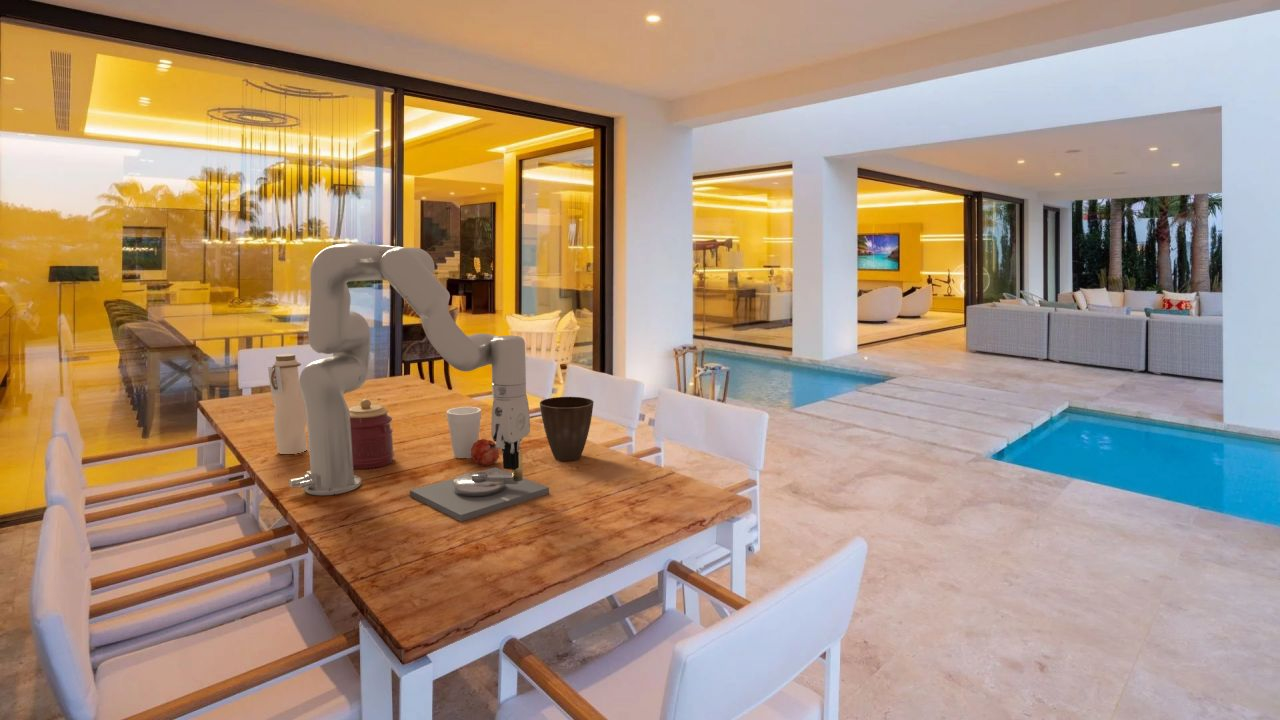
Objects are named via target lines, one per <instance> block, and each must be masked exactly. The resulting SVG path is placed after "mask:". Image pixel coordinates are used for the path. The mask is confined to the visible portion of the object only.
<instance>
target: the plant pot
mask: <svg viewBox="0 0 1280 720" xmlns="http://www.w3.org/2000/svg"><path fill="white" fill-rule="evenodd" d="M539 407H540V414H541V418H542V424H543V427H544V432H545V435H546V438H547V439H546V440H547V442H548V445H549V447H550V450H551V453H552V455H553V458H554V459H555V460H557V461H560V462H561V461H563V462H571V461H572V462H573V461H577V460H579V459H581V457H582V455H583V452H584V449H585V446H586V443H587V439H588V436H589V432H590V427H591V423H592V418H593V410H594V409H593V408H594V400H593V399H591V398H586V397H581V396H556V397H549V398H544V399H543V400H540V401H539Z"/></svg>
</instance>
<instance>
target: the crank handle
mask: <svg viewBox="0 0 1280 720" xmlns="http://www.w3.org/2000/svg"><path fill="white" fill-rule="evenodd" d="M523 472H524V471H523V450H522V449H519V468H517V469H515V470H511V473H512V475H503V474H500V473H497V472H489V471H483V470H481V471H473V472H467V473H463V474H461V475H458V476H456V477H454V478H455V479H454V481H453V485H454V492H455V493H457V494H459V495H463V496H472V497H477V496H487V495H492V494H495V493H498V492H500V491H502V490H504V489H505V487H506V484H517V483H518V481H522V480H523V478H524V477H523V476H524V474H523Z"/></svg>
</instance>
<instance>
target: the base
mask: <svg viewBox="0 0 1280 720" xmlns="http://www.w3.org/2000/svg"><path fill="white" fill-rule="evenodd" d="M482 471H489V472H497V473H500V474H503V475H512V472H509V471H506V470H505V469H501V468H499V467H496V466H494V467H492V468H488V469H485V470H482ZM455 478H456V477H454V478H450V479H446V480H442V481H439V482H435V483H432V484H428V485H424V486H421V487H416V488H413V489H410V490H409V496H410V497H411V498H413V499H415V500H417V501H419V502H421V503H423V504H425V505H428V506H429V507H431V508H433V509H435V510H437V511H439V512H441V513H443V514H445V515H447V516H448V517H451V518H453V519H455V520H457V521H459V522H464V521H468V520H471V519H475V518H477V517H480V516H483V515H484V516H485V515H486V514H490V513H493V512H495V511H498V510H502V509H505V508H508V507H511V506H515V505H517V504H521V503H523V502H527V501H529V500H533V499H536V498H539V497H542V496H546V495H549V494H550V487H549V486H547V485H544V484H540V483H538V482H535V481H533V480H531V479H527V478H525V477H523V480H522V481H518V483H517V484H506V487H505V489H504V490H502V491H500V492H498V493H495V494H492V495H487V496H477V497H472V496H463V495H459V494H457V493H455V492H454V485H453V481H454V479H455Z"/></svg>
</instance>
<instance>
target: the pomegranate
mask: <svg viewBox="0 0 1280 720" xmlns="http://www.w3.org/2000/svg"><path fill="white" fill-rule="evenodd" d="M499 450H500V449H497V448H496V442H495V441H493V440H488V439H486V438H481V439H478V441H477V442H475V443H474V444H473V446H472V448H471V457H472V459H473V460H474V462H475V463H476V464H477V465H478V466H481V467H487V466H490V465H493V464H495V463H496V462H497V461H498V459H499V457H500V451H499Z"/></svg>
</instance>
